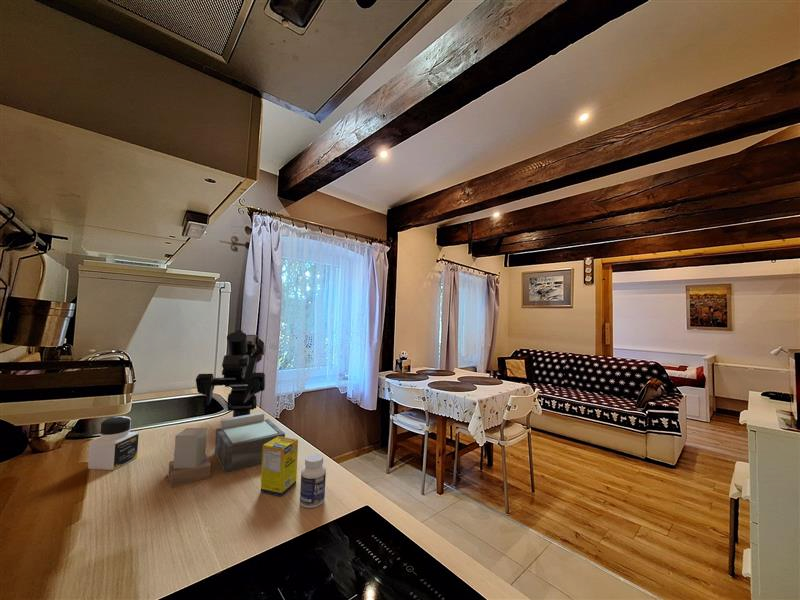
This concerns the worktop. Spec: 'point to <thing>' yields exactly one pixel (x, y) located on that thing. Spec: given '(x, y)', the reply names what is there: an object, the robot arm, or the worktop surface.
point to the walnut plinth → (189, 473)
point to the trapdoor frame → (242, 450)
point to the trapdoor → (246, 427)
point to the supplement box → (279, 465)
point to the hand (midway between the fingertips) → (225, 403)
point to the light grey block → (190, 447)
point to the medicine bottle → (113, 445)
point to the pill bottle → (313, 481)
